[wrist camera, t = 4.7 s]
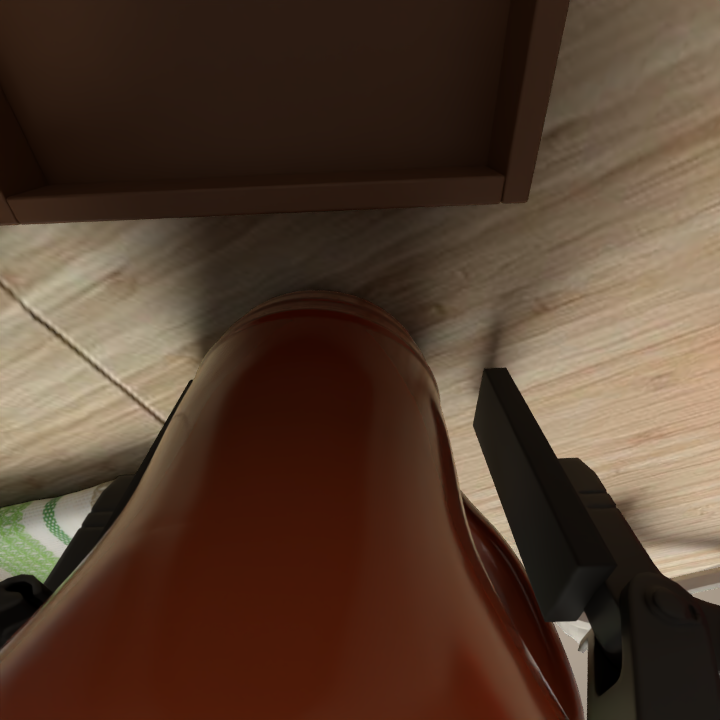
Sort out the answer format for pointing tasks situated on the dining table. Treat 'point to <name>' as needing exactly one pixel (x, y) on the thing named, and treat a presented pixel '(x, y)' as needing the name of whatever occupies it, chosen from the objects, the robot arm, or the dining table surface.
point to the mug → (297, 553)
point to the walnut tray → (269, 105)
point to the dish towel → (42, 531)
